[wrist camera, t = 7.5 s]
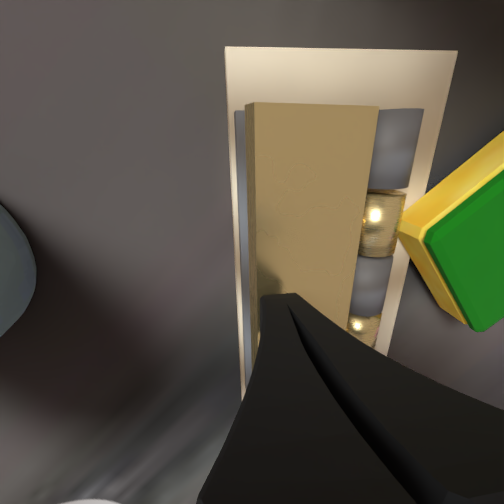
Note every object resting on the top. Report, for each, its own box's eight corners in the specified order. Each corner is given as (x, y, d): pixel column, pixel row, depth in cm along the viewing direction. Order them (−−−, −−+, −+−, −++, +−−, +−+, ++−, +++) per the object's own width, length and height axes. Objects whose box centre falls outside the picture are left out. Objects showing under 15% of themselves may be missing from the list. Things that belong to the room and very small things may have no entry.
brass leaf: (235, 107, 8) (263, 99, 7) (389, 111, 11) (438, 105, 9) (247, 412, 14) (264, 449, 12) (347, 370, 16) (373, 396, 15)
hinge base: (224, 53, 10) (228, 21, 7) (441, 56, 11) (515, 30, 8) (241, 397, 17) (246, 445, 14) (372, 380, 18) (399, 422, 15)
